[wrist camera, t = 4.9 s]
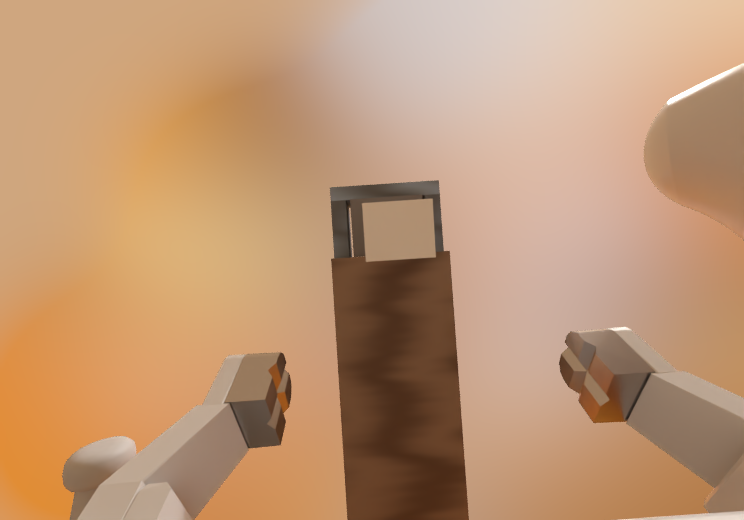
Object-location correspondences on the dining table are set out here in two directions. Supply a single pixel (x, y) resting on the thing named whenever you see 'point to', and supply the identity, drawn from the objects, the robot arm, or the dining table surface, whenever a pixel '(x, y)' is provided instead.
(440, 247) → the post
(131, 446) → the salt shaker
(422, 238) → the cream bar
